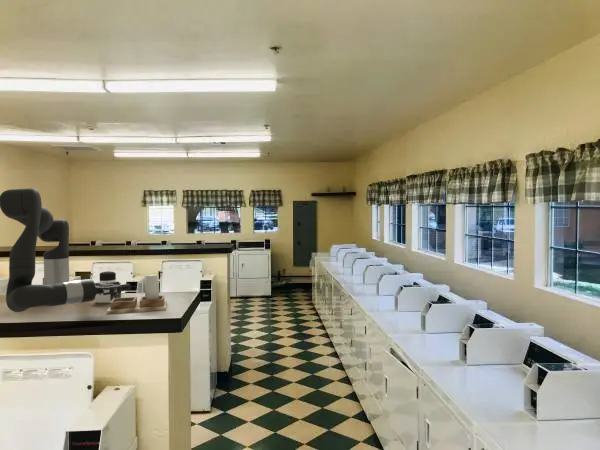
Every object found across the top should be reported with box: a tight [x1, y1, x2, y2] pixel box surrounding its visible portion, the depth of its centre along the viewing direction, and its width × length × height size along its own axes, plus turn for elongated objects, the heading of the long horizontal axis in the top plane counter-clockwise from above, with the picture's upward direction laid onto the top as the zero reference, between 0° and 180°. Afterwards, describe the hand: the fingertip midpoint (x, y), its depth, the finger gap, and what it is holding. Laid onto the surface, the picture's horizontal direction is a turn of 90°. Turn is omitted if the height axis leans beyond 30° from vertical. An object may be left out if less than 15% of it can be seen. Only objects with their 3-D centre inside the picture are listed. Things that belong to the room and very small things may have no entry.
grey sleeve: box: [144, 273, 160, 300], centre depth 172 cm, size 5×5×11 cm
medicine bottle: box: [94, 270, 122, 304], centre depth 185 cm, size 7×7×12 cm
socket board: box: [106, 294, 168, 315], centre depth 171 cm, size 20×14×4 cm
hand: (124, 285), depth 164 cm, fingers open, 8 cm apart
